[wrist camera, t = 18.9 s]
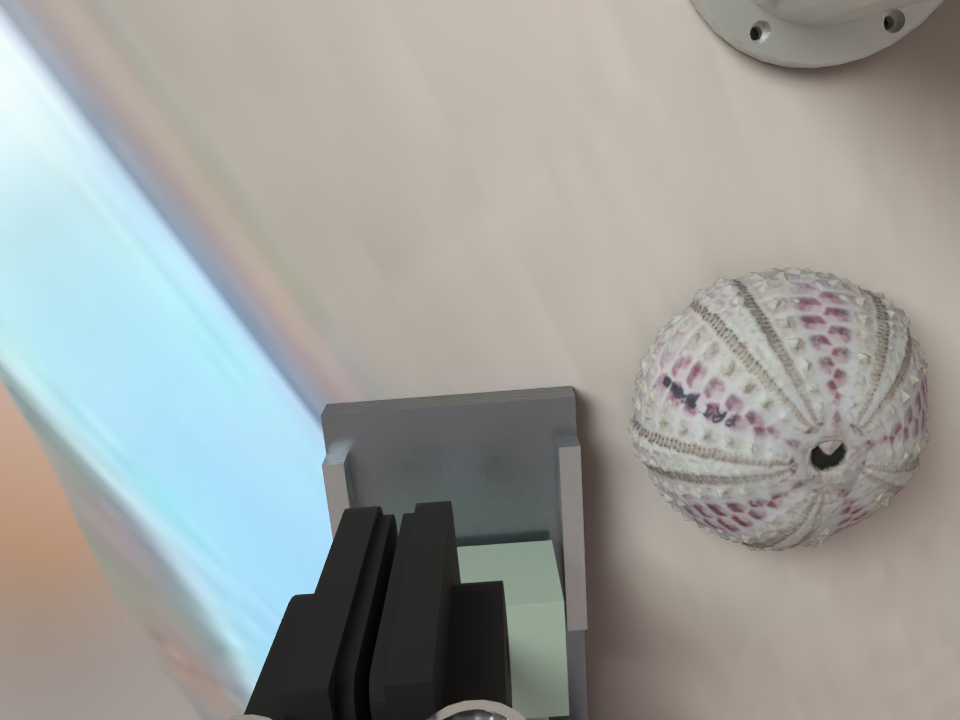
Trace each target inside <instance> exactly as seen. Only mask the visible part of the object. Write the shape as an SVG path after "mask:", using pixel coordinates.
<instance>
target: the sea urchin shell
mask: <svg viewBox="0 0 960 720" xmlns="http://www.w3.org/2000/svg"><path fill="white" fill-rule="evenodd" d="M909 321H910V318H908V317H905V314H904V310H901V309H897V308H894V306H893V303H892V300H888V299H885V297H884V295H883V293H882V292H881V293H873V292H871V291H867V290H861V289H860V287H859V286H858V285H851V283H850V282H849V281H848V279H838V278H837V277H836V276H835V275H833V274H831V273H827V274H823V273H821V272H817V273H813V272H812V271H811V270H810V269H804V270H800V269H798V268H796V267H794V268H791V269H790V268H784V269H782V270H779V269H776V268H770V269H768V270H764V271H763V272H761V273H754V272H748V273H747V274H746V275H744V276H743V277H741V278H737V279H734V280H726V279H717V280H716V281H715V283H714V284H713V286H712V287H710V288H708V289H706V290H698V291H697V292H696V294H695V296H694V298H693V300H692V302H691V304H690V306H689V307H688V308H687V309H685V310H684V311H683V312H681V313H678V314H674V315H672V316H671V318H670V320H669V322H668V325H667V326H664V327H660V328H659V329H658V333H657V337H656V342H654V343H653V344H651V345H650V346H648V354H647V355H646V356H644V357H643V358H641V359H640V363H641V368H642V369H641V370H640V371H639V372H638V373H637V375H636V378H637V379H636V380H635V387H636V390H635V391H634V393H633V395H632V400H633V402H634V408H635V415H634V416H633V418H632V419H631V420H630V421H631V423H630V425H629V427H628V430H629V433H630V434H631V436H630V438H631V439H632V440H633V441H634V444H633V447H635V448H636V450H635V452H634V453H633V455H635V456H636V457H638V458H639V459H640V460H641V462H643V463H644V464H645V465H646V466H647V467H648V473H649V477H651V478H652V479H653V484H654V485H655V486H657V487H658V491H659V494H660V495H662V496H665V499H666V502H668V503H671V504H672V508H673V511H681V512H682V514H683V516H684V519H685V521H695V522H697V524H698V526H699V528H705V530H706V533H718V535H719V536H720V537H721V538H724V539H726V540H729V539H731V540H732V541H733V542H734V543H738V542H741V543H742V545H744V544H745V545H746V546H747V547H748V548H749V549H750V550H751V551H752V550H757V551H759V550H764V551H765V550H773V551H775V550H776V551H781V550H784V549H786V548H792V547H794V546H797V545H803V546H806V547H807V546H808V545H810V546H813V547H815V546H816V545H817V543H818V542H820V543H823V541H824V540H827V538H828V537H829V536H831V535H834V534H836V533H838V532H840V531H842V530H844V529H846V528H848V527H850V526H852V525H854V524H856V523H858V522H859V521H861V520H862V519H864V518H865V517H870V516H871V514H872V512H874V511H875V510H877V509H879V508H880V507H888V508H889V507H890V499H891V498H892V497H893V496H895V495H896V494H897V493H898V492H899V491H900V490H901V489H903V488H904V487H905V486H906V485H907V484H908V483H909V482H910V480H911V478H912V476H913V474H914V473H915V471H916V470H917V469H918V466H919V458H918V455H919V452H920V451H921V450H922V449H924V448H925V447H927V446H928V445H927V443H926V442H928V441H929V437H928V435H927V433H928V432H927V429H926V420H927V418H928V417H929V415H930V413H929V412H928V411H927V407H928V406H927V392H928V391H927V378H926V373H927V371H926V368H927V366H928V364H927V363H926V362H925V361H924V360H923V359H922V357H923V354H924V351H923V350H922V349H921V348H920V347H919V343H918V342H917V341H916V340H914V339H913V338H911V337H910V334H909Z"/></svg>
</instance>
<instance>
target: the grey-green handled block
mask: <svg viewBox="0 0 960 720" xmlns="http://www.w3.org/2000/svg"><path fill="white" fill-rule="evenodd" d="M457 552H458V561H459V570H460V579H461V583H473V582H487V581H501V580H503V584H504V593H505V603H506V614H507V625H508V637H509V650H510V666H511V685H512V709H514V710H516V711H517V712H518V713H520V714H521V715H522V716H523V717H524V718H525V719H527V718H541V717H555V716H569V715H570V714H569V694H568V673H567V653H566V632H565V612H564V599H563V594H562V589H561V584H560V579H559V574H558V569H557V564H556V559H555V554H554V549H553V544H552V540H547V541H533V542H519V543H506V544H492V545H478V546H465V547H457Z"/></svg>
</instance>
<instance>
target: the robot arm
mask: <svg viewBox="0 0 960 720" xmlns="http://www.w3.org/2000/svg"><path fill="white" fill-rule="evenodd" d="M691 1H692V3H693V4H694V6H695V8H696V10H697V11H698V13H699V14H700V15H701V16H702V17H703V19H704V20H705V21H706V22H707V23H708V25H709V26H710V27H711V28H712V29H713V30H714V32H715V33H716V34H718V35H719V36H720V37H722V38H723V39H724V40H725V41H727V42H728V43H729V44H731V45H732V46H733V47H734V48H736V49H737V50H739V51H741V52H743V53H745V54H747V55H749V56H751V57H754V58H756V59H758V60H760V61H762V62H766V63H771V64H775V65H779V66H783V67H788V68H820V67H827V66H834V65H840V64H844V63H847V62H851V61H854V60H858V59H862V58H865V57H868V56H870V55H872V54H874V53H876V52H878V51H880V50H882V49H884V48H886V47H888V46H890V45H892V44H894V43H896V42H897V41H899V40H900V39H901V38H903V37H904V36H906V35H907V34H908V33H910V32H911V31H912V30H914V29H915V28H916V27H918V26H919V25H921V24H922V23H923V22H924V21H925V20H926V19H927V18H928V16H929V15H930V14H931V13H932V12H933V11H934V10H935V9H936V8H937V7H938V6H939V5H940V4H941V3H942V2H943V1H944V0H691ZM885 18H886V19H887V20H888V27H887V28H886V29H885V28H884V19H885ZM752 28H755V29H756V30H757V31H758V38H757V39H756V40H755V41H754V40H752V39H751V36H750V30H751V29H752ZM222 720H526V719H525V718H524V717H523V716H522V715H521V714H520V713H518V712H517V711H516V710H514V709H512V685H511V666H510V650H509V637H508V625H507V614H506V603H505V593H504V584H503V580H501V581H487V582H473V583H461V579H460V570H459V561H458V552H457V543H456V535H455V526H454V517H453V509H452V503H451V501H440V502H427V503H416V506H415V511H414V513H404V514H403V517H402V521H401V526H400V531H399V536H398V532H397V524H396V519H395V516H394V514H388V515H383V511H382V508H381V507H380V506H373V507H360V508H347V509H345V510H344V512H343V515H342V517H341V520H340V523H339V526H338V529H337V531H336V534H335V537H334V540H333V543H332V545H331V548H330V551H329V554H328V557H327V559H326V562H325V565H324V568H323V571H322V573H321V576H320V579H319V582H318V584H317V587H316V590H315V593H314V594H302V595H295V596H293V597H292V598H291V600H290V602H289V604H288V606H287V609H286V611H285V614H284V616H283V619H282V621H281V624H280V626H279V629H278V631H277V634H276V636H275V639H274V641H273V644H272V646H271V648H270V651H269V653H268V656H267V658H266V661H265V663H264V666H263V668H262V671H261V673H260V676H259V678H258V681H257V683H256V686H255V688H254V691H253V693H252V696H251V698H250V701H249V703H248V706H247V708H246V711H245V713H244V715H238V716H232V717H229V718H226V719H222Z"/></svg>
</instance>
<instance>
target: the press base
mask: <svg viewBox="0 0 960 720" xmlns="http://www.w3.org/2000/svg"><path fill="white" fill-rule="evenodd" d="M321 420H322V427H323V433H324V440H325V447H326V454H327V455H326V457H325V459H324V462H323V464H322V469H323V476H324V483H325V489H326V496H327V503H328V509H329V516H330V522H331V529H332V536H333V540H334V537H335V534H336V531H337V529H338V526H339V523H340V520H341V517H342V515H343V512H344V510H345V509H347V508H360V507H373V506H380V507H381V508H382V511H383V515H388V514H394V516H395V519H396V524H397V532H398V536H399V531H400V526H401V521H402V517H403V514H404V513H414V511H415V506H416V503H427V502H440V501H451V503H452V509H453V517H454V526H455V535H456V543H457V547H465V546H478V545H492V544H506V543H519V542H533V541H547V540H552V544H553V549H554V554H555V559H556V564H557V569H558V574H559V579H560V584H561V589H562V594H563V599H564V612H565V632H566V653H567V673H568V694H569V714H570V715H569V716H555V717H549V720H588V700H587V675H586V650H585V630H587V629H588V627H587V601H586V575H585V549H584V523H583V497H582V471H581V446H580V443H579V440H578V437H577V423H576V398H575V394H574V392H573V389H572V387H571V386H565V387H552V388H539V389H526V390H512V391H499V392H486V393H472V394H459V395H446V396H432V397H419V398H406V399H392V400H379V401H366V402H352V403H339V404H327V405H326V407H325V409H324V411H323V413H322V414H321Z"/></svg>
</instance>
